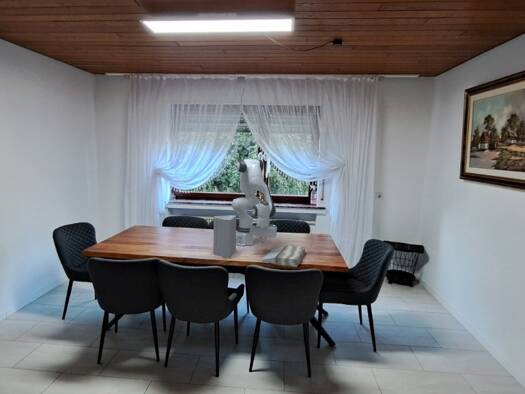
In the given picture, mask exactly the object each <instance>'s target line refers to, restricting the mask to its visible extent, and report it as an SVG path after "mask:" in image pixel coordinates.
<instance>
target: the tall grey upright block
mask: <svg viewBox="0 0 525 394" xmlns="http://www.w3.org/2000/svg"><path fill="white" fill-rule="evenodd" d="M236 231H237V215H229V214H228V215H217V216H216V215H214V217H213V245H212V246H213V247H212V248H213V251H212V253H213V255H215V256H218V257H220V256H221V258H223V257H224V258H223V259H230V258H232V257H233V255H235V253H236V252H237V251H236V248H237V247H236V246H237V245H236Z"/></svg>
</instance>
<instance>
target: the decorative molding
mask: <svg viewBox="0 0 525 394" xmlns="http://www.w3.org/2000/svg"><path fill="white" fill-rule="evenodd" d="M286 246H287V245H283V246H277V247H273V248H271V250H270V251H269V252H268V253H267V254H265V256H263V257H262V258H261V262H262V263H266V264H269V263H270V264H273V265H277V257H278V256H279V255H280V254H281V252H282V251H283V250H284V249H285V248H286Z"/></svg>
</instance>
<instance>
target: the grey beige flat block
mask: <svg viewBox="0 0 525 394" xmlns="http://www.w3.org/2000/svg"><path fill="white" fill-rule="evenodd" d="M285 246H286V248H285V249H284V250H283V251H282V252H281V254H280V255H279V256H278V257H277V263H276V265H277V266H286V267H287V266H288V267H296V268H297V267H298V266H299V264H300V263H301V261H302V259H303V258H304V255H305V254H306V246H298V245H290V244H289V245H285ZM299 262H300V263H299Z"/></svg>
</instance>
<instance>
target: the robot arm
mask: <svg viewBox="0 0 525 394" xmlns="http://www.w3.org/2000/svg"><path fill="white" fill-rule="evenodd" d="M264 166H265V164H264V161H263V160H262V159H255V158H248V159H247V158H244V159H243V158H242V159H239V160H238V161H237V162H236V169H237V171H238V172H239V173H240V176H239V190H240V192H242V193H243V194H244V195H245V197H238V198H234V199H233V200H232V201H231V207H232V208H231V209H233V210H234V212H236V213H237V217H238V220H239V221H238V222H239V223H238V224H239V225H238V226H236V246H239V247H245V246H252V245H253V246H254V244H255V242H254V236H255V237H258V238H259V240H260V243H265V242H266V239H267V238H276V237H277V231H278V227H277V225H276V224H270V218H273V217H275V215H276V213H277V209H276V206H275V204H274V201H273V198H272V195H271V190H270V188H269V185H268V184H266V183H265V180H264V178H263V177H264V176H263V171H264ZM254 190H255V191H258V192H260V193H262V195H263V196H264V200H265V201H261V199H259V198H258V196H257V195H256V194H255V191H254ZM249 211H251V214H252V215H253V217H255V218H257V220H255V221H254V219H253V217H252V216H251V215H249V213H248V212H249ZM262 237H263V238H264V239H262Z"/></svg>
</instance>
